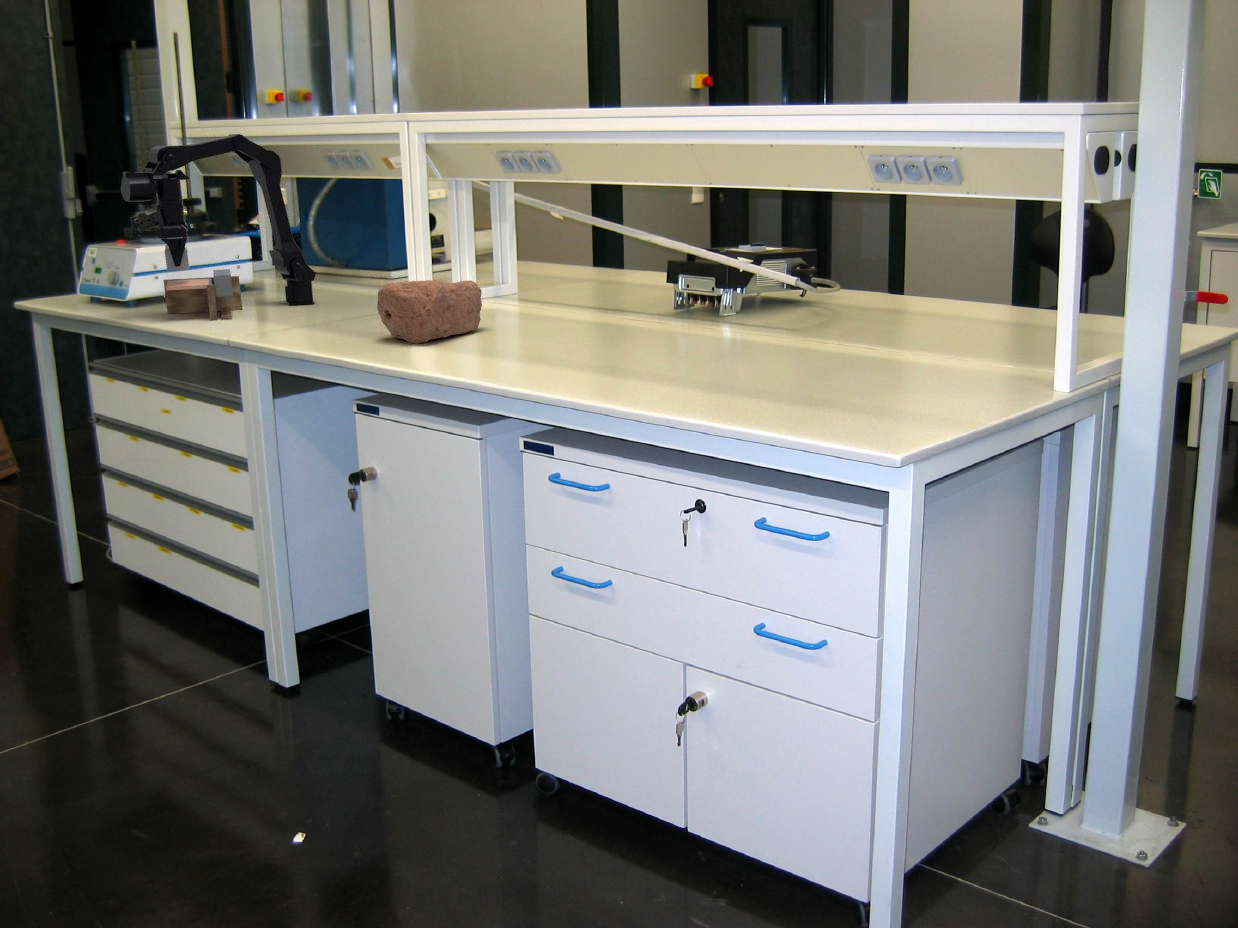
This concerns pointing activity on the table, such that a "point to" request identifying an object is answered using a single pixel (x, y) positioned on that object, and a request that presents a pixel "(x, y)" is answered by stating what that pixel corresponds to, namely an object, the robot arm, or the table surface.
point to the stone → (429, 309)
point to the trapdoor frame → (203, 300)
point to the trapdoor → (206, 283)
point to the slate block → (170, 262)
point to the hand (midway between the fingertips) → (177, 265)
